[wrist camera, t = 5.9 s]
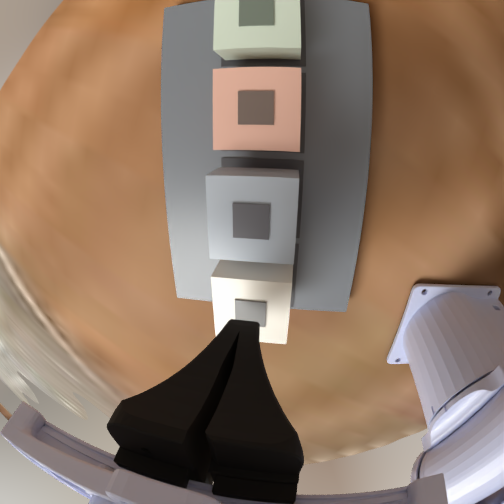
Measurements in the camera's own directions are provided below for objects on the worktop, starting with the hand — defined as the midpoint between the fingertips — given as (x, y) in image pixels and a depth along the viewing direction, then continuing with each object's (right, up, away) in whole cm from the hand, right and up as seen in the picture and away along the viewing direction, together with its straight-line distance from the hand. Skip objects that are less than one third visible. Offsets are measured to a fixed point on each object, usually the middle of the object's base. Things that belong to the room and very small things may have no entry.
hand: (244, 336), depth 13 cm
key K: (+1, +6, +2) cm, 7 cm away
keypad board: (+1, +10, +3) cm, 10 cm away
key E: (+1, +16, -1) cm, 16 cm away
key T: (+1, +11, +1) cm, 11 cm away
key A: (+1, +2, +4) cm, 5 cm away
